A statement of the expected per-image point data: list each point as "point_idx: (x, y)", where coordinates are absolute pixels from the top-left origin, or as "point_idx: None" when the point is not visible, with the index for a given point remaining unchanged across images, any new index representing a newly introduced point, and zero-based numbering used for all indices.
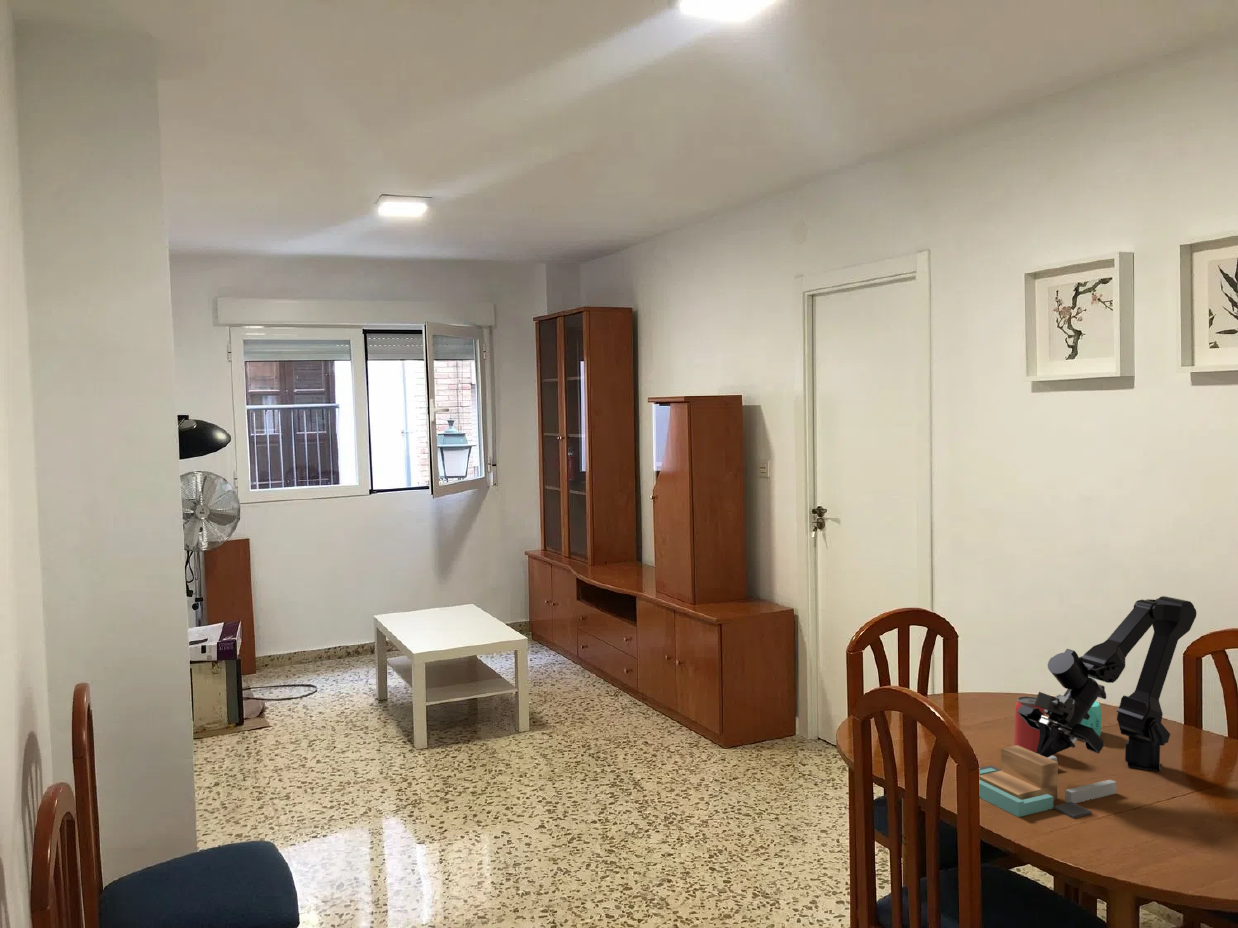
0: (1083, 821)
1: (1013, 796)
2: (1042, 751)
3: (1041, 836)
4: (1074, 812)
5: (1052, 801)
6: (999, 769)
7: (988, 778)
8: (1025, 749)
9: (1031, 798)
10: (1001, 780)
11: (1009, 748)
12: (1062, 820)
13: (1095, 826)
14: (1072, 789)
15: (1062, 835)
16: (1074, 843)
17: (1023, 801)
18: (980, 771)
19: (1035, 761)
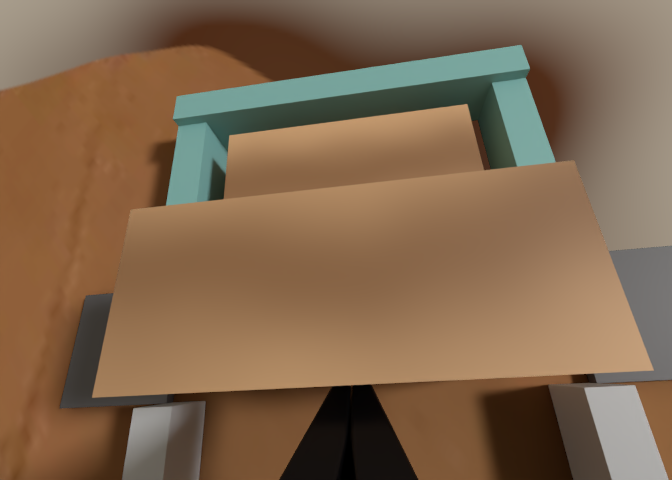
0: (58, 312)
1: (223, 111)
2: (315, 443)
3: (90, 119)
4: (100, 325)
5: None
6: (663, 374)
7: (422, 126)
8: (489, 354)
9: (194, 178)
10: (381, 164)
11: (553, 221)
12: (109, 247)
13: (12, 321)
14: (154, 454)
15: (55, 173)
16: (10, 170)
17: (174, 118)
18: (537, 159)
19: (209, 222)
